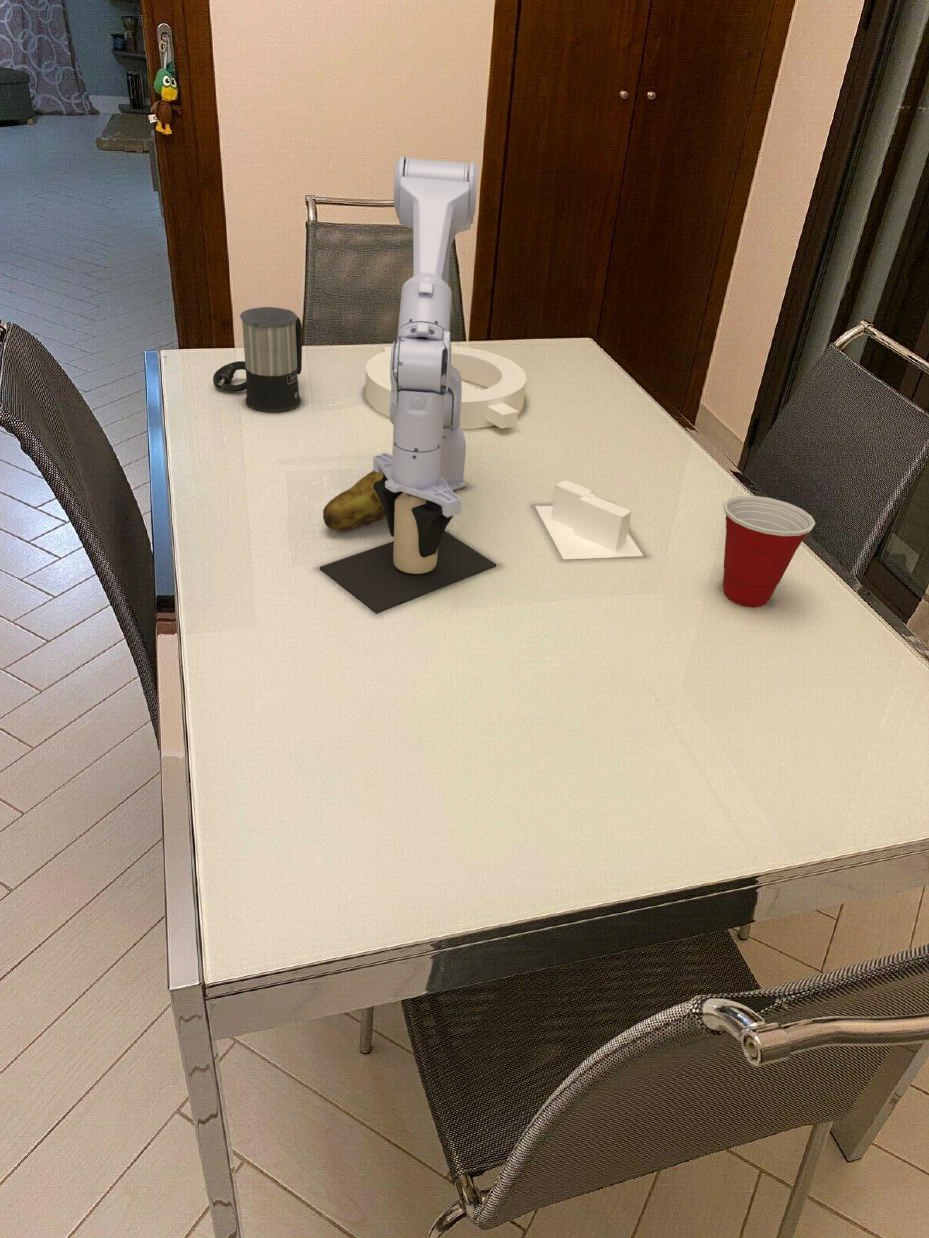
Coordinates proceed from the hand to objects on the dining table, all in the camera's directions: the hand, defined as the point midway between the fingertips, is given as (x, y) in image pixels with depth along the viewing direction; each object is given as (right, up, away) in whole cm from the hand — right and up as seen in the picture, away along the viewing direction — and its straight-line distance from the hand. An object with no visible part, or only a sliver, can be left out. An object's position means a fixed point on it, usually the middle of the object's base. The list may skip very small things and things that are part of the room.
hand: (412, 543), depth 116 cm
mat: (-1, -3, +2) cm, 4 cm away
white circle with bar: (+3, +30, +51) cm, 59 cm away
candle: (0, -2, +2) cm, 3 cm away
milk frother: (-29, +29, +45) cm, 61 cm away
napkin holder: (+23, +3, +14) cm, 27 cm away
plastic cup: (+42, -6, +3) cm, 43 cm away
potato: (-6, +4, +11) cm, 13 cm away
